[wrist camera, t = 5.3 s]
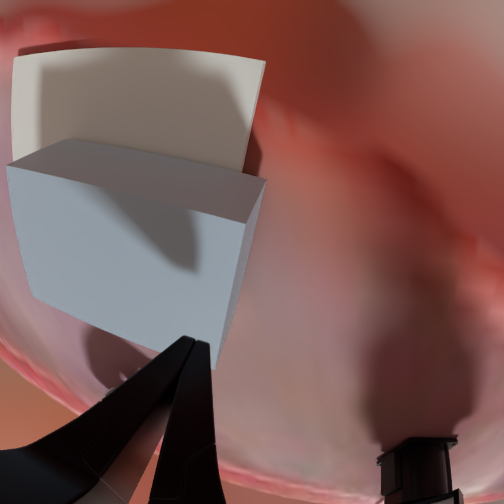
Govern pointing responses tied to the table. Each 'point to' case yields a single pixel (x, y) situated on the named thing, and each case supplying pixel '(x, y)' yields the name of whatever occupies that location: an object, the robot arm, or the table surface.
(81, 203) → the slab
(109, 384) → the table surface
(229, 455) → the table surface
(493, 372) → the table surface
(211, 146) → the mat
